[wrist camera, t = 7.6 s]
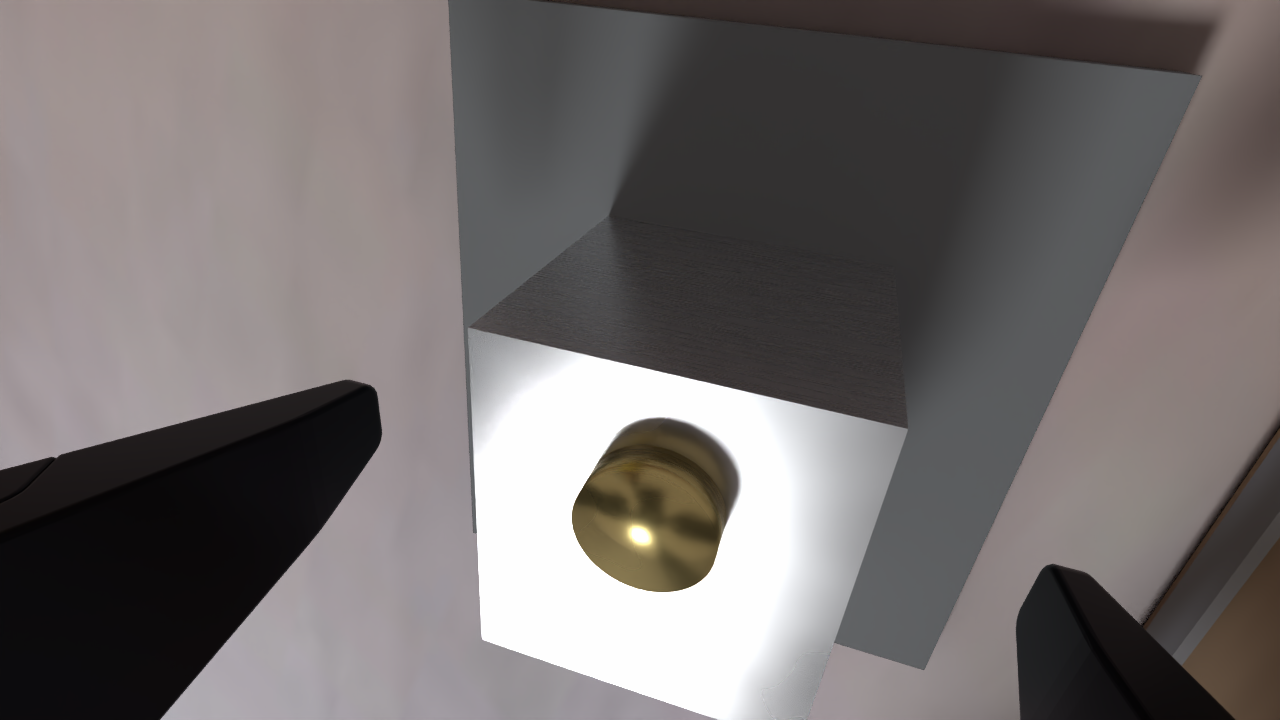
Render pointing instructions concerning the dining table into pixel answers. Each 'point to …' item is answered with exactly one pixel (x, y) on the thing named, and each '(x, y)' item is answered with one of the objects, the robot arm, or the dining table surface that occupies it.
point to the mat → (831, 217)
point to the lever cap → (684, 461)
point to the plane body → (1232, 600)
